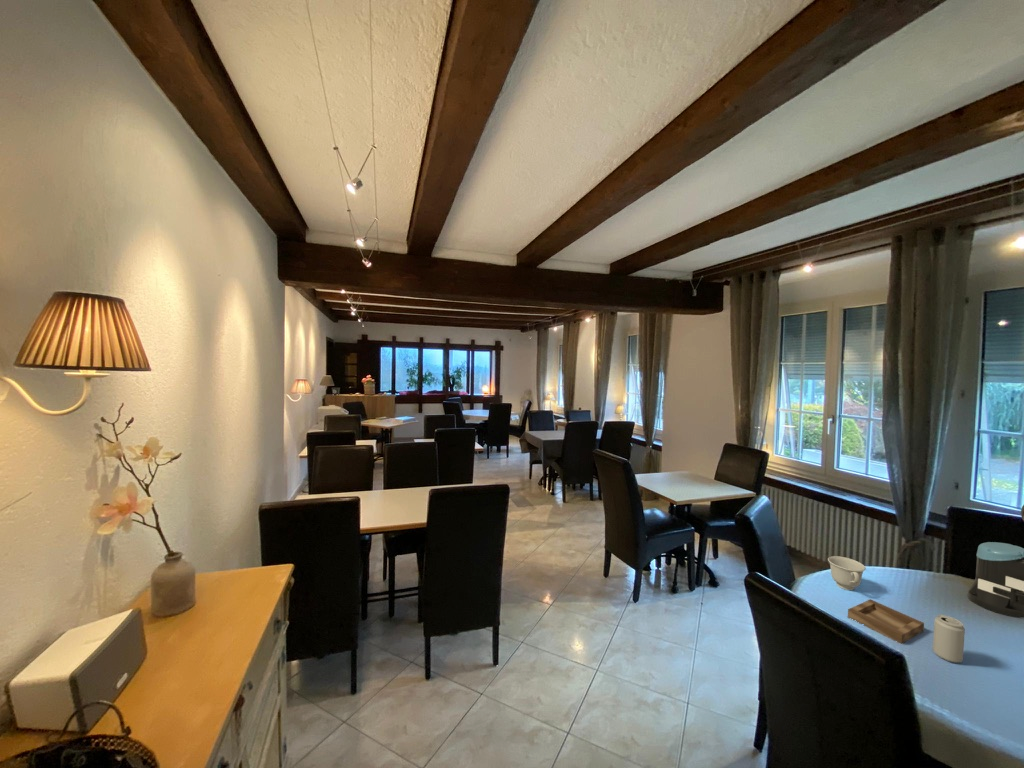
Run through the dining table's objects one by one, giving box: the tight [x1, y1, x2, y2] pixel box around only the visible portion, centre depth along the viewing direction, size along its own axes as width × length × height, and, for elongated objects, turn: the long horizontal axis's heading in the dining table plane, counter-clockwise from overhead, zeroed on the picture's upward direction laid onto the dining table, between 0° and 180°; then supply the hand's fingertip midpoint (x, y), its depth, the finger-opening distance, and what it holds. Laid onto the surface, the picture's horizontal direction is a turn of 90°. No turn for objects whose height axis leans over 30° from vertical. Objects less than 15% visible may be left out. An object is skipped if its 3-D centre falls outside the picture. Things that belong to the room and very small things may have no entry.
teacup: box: [827, 555, 867, 591], centre depth 162 cm, size 12×15×10 cm
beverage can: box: [932, 614, 966, 664], centre depth 125 cm, size 6×6×12 cm
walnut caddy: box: [847, 599, 925, 645], centre depth 140 cm, size 15×15×3 cm
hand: (992, 582), depth 117 cm, fingers open, 13 cm apart
